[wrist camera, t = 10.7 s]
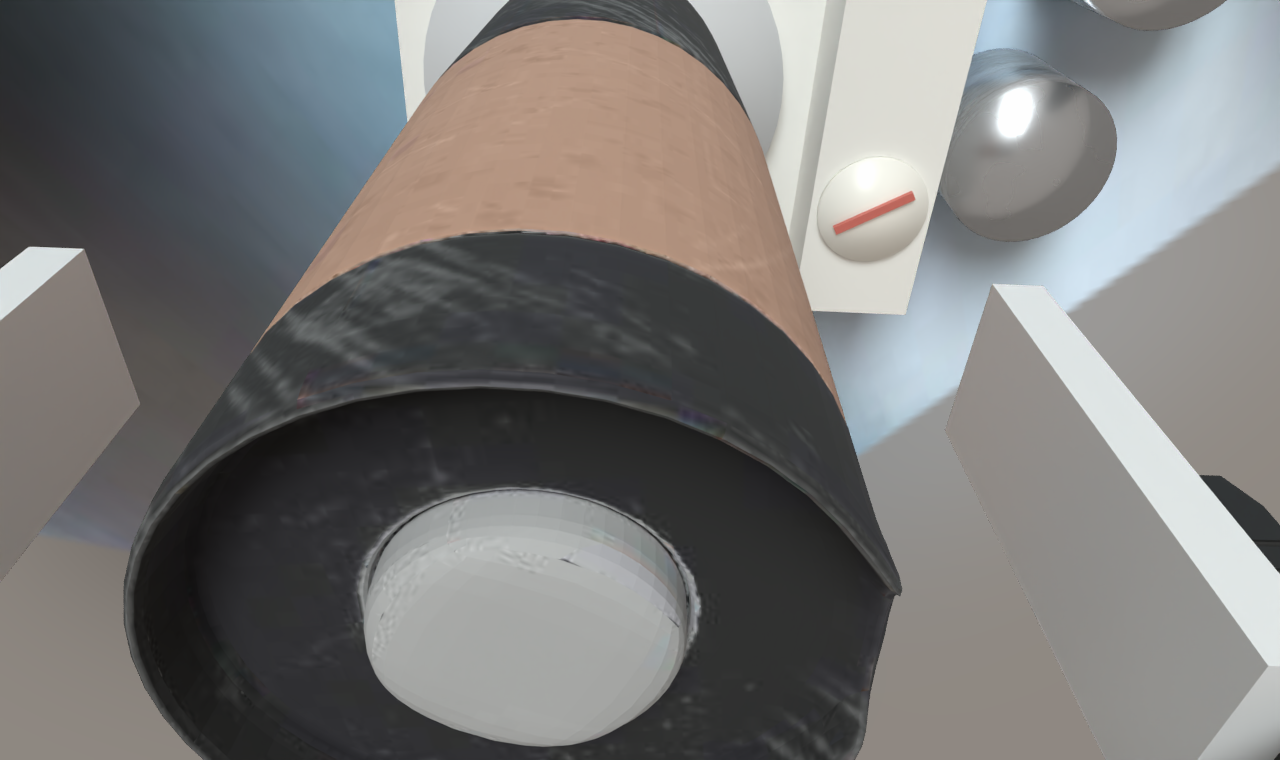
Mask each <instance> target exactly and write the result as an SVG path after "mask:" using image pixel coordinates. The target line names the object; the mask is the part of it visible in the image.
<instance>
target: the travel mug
mask: <svg viewBox="0 0 1280 760" xmlns="http://www.w3.org/2000/svg"><path fill="white" fill-rule="evenodd" d="M901 592H902V586H901V582H900V577H899V574H898V572H897V569H896V567H895V565H894V562H893V560H892V557H891V555H890V552H889V550H888V547H887V544H886V542H885V540H884V538H883V535H882V533H881V530H880V528H879V525H878V523H877V520H876V517H875V514H874V511H873V507H872V504H871V501H870V498H869V495H868V491H867V488H866V485H865V482H864V479H863V475H862V472H861V468H860V465H859V462H858V459H857V456H856V452H855V449H854V446H853V443H852V439H851V436H850V433H849V430H848V427H847V425H846V421H845V417H844V414H843V410H842V407H841V404H840V401H839V397H838V394H837V391H836V388H835V384H834V381H833V378H832V375H831V371H830V368H829V365H828V362H827V358H826V355H825V352H824V349H823V345H822V342H821V339H820V335H819V332H818V329H817V326H816V322H815V319H814V316H813V313H812V309H811V306H810V303H809V300H808V296H807V293H806V290H805V287H804V283H803V280H802V277H801V274H800V270H799V267H798V264H797V261H796V257H795V254H794V251H793V248H792V244H791V241H790V238H789V235H788V231H787V228H786V225H785V222H784V218H783V215H782V212H781V209H780V205H779V202H778V199H777V196H776V192H775V189H774V186H773V183H772V179H771V176H770V173H769V170H768V166H767V163H766V160H765V157H764V153H763V150H762V147H761V145H760V142H759V140H758V137H757V135H756V133H755V130H754V128H753V125H752V123H751V121H750V118H749V116H748V114H747V111H746V109H745V107H744V105H743V102H742V100H741V98H740V96H739V93H738V91H737V89H736V87H735V84H734V82H733V80H732V78H731V75H730V73H729V71H728V68H727V66H726V64H725V62H724V59H723V57H722V55H721V53H720V50H719V48H718V46H717V44H716V42H715V40H714V38H713V36H712V34H711V32H710V30H709V29H708V27H707V25H706V24H705V22H704V20H703V19H702V17H701V16H700V15H699V14H698V12H697V11H696V10H695V8H694V7H693V6H692V5H691V3H690V2H689V1H688V0H509V1H508V2H507V3H506V4H505V5H504V6H503V7H502V8H501V9H500V10H499V11H498V12H497V13H496V14H495V15H494V17H493V18H492V19H491V20H490V21H489V22H488V23H487V24H486V26H485V27H484V28H483V29H482V30H481V31H480V32H479V33H478V35H477V36H476V37H475V38H474V39H473V40H472V41H471V43H470V44H469V45H468V46H467V47H466V48H465V49H464V50H463V52H462V53H461V54H460V55H459V56H458V57H457V58H456V59H455V61H454V62H453V63H452V64H451V65H450V66H449V67H448V69H447V70H446V71H445V72H444V73H443V74H442V75H441V76H440V78H439V79H438V80H437V82H436V83H435V84H434V85H433V87H432V88H431V89H430V91H429V92H428V94H427V95H426V96H425V98H424V99H423V100H422V102H421V103H420V105H419V106H418V108H417V109H416V111H415V112H414V113H413V115H412V116H411V118H410V119H409V121H408V122H407V124H406V125H405V127H404V128H403V130H402V131H401V133H400V134H399V136H398V137H397V138H396V140H395V141H394V143H393V144H392V146H391V147H390V149H389V150H388V152H387V153H386V155H385V156H384V158H383V159H382V160H381V162H380V163H379V165H378V166H377V168H376V169H375V171H374V172H373V174H372V175H371V177H370V178H369V180H368V181H367V183H366V184H365V185H364V187H363V188H362V190H361V191H360V193H359V194H358V196H357V197H356V199H355V200H354V202H353V203H352V205H351V206H350V207H349V209H348V210H347V212H346V213H345V215H344V216H343V218H342V219H341V221H340V222H339V224H338V225H337V227H336V228H335V230H334V231H333V232H332V234H331V235H330V237H329V238H328V240H327V241H326V243H325V244H324V246H323V247H322V249H321V250H320V252H319V253H318V254H317V256H316V257H315V259H314V260H313V262H312V263H311V265H310V266H309V268H308V269H307V271H306V272H305V274H304V275H303V277H302V278H301V279H300V281H299V282H298V284H297V285H296V287H295V288H294V290H293V291H292V293H291V294H290V296H289V297H288V299H287V300H286V302H285V303H284V304H283V306H282V307H281V309H280V310H279V312H278V313H277V315H276V316H275V318H274V319H273V321H272V322H271V324H270V325H269V326H268V328H267V329H266V331H265V332H264V334H263V335H262V337H261V338H260V340H259V341H258V343H257V344H256V346H255V347H254V349H253V350H252V351H251V353H250V355H249V356H248V358H247V359H246V360H245V362H244V363H243V365H242V366H241V368H240V369H239V370H238V372H237V373H236V375H235V376H234V378H233V379H232V381H231V382H230V384H229V385H228V387H227V388H226V390H225V391H224V392H223V394H222V395H221V397H220V398H219V400H218V401H217V403H216V404H215V406H214V407H213V409H212V410H211V412H210V413H209V414H208V416H207V417H206V419H205V420H204V422H203V423H202V425H201V426H200V428H199V429H198V431H197V432H196V433H195V435H194V436H193V438H192V439H191V441H190V442H189V444H188V445H187V447H186V448H185V450H184V451H183V453H182V454H181V455H180V457H179V458H178V460H177V461H176V463H175V464H174V466H173V467H172V469H171V470H170V472H169V473H168V475H167V476H166V477H165V479H164V480H163V482H162V484H161V486H160V488H159V489H158V491H157V493H156V495H155V496H154V498H153V500H152V502H151V504H150V506H149V509H148V511H147V513H146V515H145V517H144V519H143V522H142V524H141V526H140V528H139V530H138V532H137V535H136V537H135V540H134V542H133V545H132V547H131V552H130V557H129V561H128V566H127V570H126V575H125V579H124V626H125V631H126V635H127V640H128V645H129V648H130V654H131V657H132V660H133V662H134V664H135V667H136V669H137V671H138V674H139V676H140V678H141V681H142V683H143V685H144V688H145V689H146V691H147V692H148V694H149V695H150V697H151V699H152V700H153V702H154V703H155V705H156V706H157V708H158V710H159V711H160V713H161V714H162V716H163V717H164V718H165V720H166V721H167V722H168V723H169V724H170V725H171V726H172V728H173V729H174V730H175V731H176V732H177V734H178V735H179V736H180V737H181V738H182V739H183V741H184V742H185V743H186V744H187V745H188V746H189V747H190V748H191V749H193V750H194V751H195V752H196V753H197V754H198V755H199V756H200V757H201V758H202V759H203V760H855V758H856V756H857V755H858V753H859V751H860V749H861V747H862V745H863V740H864V736H865V732H866V725H867V715H868V706H869V699H870V691H871V687H872V682H873V678H874V674H875V669H876V664H877V661H878V658H879V654H880V650H881V647H882V643H883V639H884V635H885V631H886V626H887V621H888V617H889V612H890V609H891V606H892V602H893V599H894V596H895V595H899V596H900V595H901Z"/></svg>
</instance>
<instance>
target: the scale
mask: <svg viewBox="0 0 1280 760" xmlns="http://www.w3.org/2000/svg"><path fill="white" fill-rule="evenodd" d="M508 1H509V0H395V8H396V18H397V27H398V37H399V46H400V55H401V65H402V74H403V83H404V93H405V102H406V111H407V121H409V119H410V118H411V116H412V115H413V113H414V112H415V111H416V109H417V108H418V106H419V105H420V103H421V102H422V100H423V99H424V98H425V96H426V95H427V94H428V92H429V91H430V89H431V88H432V87H433V85H434V84H435V83H436V82H437V80H438V79H439V78H440V76H441V75H442V74H443V73H444V72H445V71H446V70H447V69H448V67H449V66H450V65H451V64H452V63H453V62H454V61H455V59H456V58H457V57H458V56H459V55H460V54H461V53H462V52H463V50H464V49H465V48H466V47H467V46H468V45H469V44H470V43H471V41H472V40H473V39H474V38H475V37H476V36H477V35H478V33H479V32H480V31H481V30H482V29H483V28H484V27H485V26H486V24H487V23H488V22H489V21H490V20H491V19H492V18H493V17H494V15H495V14H496V13H497V12H498V11H499V10H500V9H501V8H502V7H503V6H504V5H505V4H506V3H507V2H508ZM688 1H689V2H690V3H691V5H692V6H693V7H694V8H695V10H696V11H697V12H698V14H699V15H700V16H701V17H702V19H703V20H704V22H705V24H706V25H707V27H708V29H709V30H710V32H711V34H712V36H713V38H714V40H715V42H716V44H717V46H718V48H719V50H720V53H721V55H722V57H723V59H724V62H725V64H726V66H727V68H728V71H729V73H730V75H731V78H732V80H733V82H734V84H735V87H736V89H737V91H738V93H739V96H740V98H741V100H742V102H743V105H744V107H745V109H746V111H747V114H748V116H749V118H750V121H751V123H752V125H753V128H754V130H755V133H756V135H757V137H758V140H759V142H760V145H761V147H762V150H763V153H764V157H765V160H766V163H767V166H768V170H769V173H770V176H771V179H772V183H773V186H774V189H775V192H776V196H777V199H778V202H779V205H780V209H781V212H782V215H783V218H784V222H785V225H786V228H787V231H788V235H789V238H790V241H791V244H792V248H793V251H794V254H795V257H796V261H797V264H798V267H799V270H800V274H801V277H802V280H803V283H804V287H805V290H806V293H807V296H808V300H809V303H810V306H811V309H812V311H828V312H851V313H874V314H897V315H905V314H906V310H907V307H908V303H909V299H910V295H911V291H912V287H913V283H914V280H915V276H916V272H917V268H918V264H919V260H920V256H921V253H922V249H923V245H924V241H925V237H926V233H927V229H928V226H929V222H930V218H931V214H932V210H933V206H934V203H935V199H936V195H937V191H938V187H939V183H940V179H941V176H942V172H943V168H944V164H945V160H946V156H947V152H948V149H949V145H950V141H951V137H952V133H953V129H954V125H955V122H956V118H957V114H958V110H959V106H960V102H961V98H962V95H963V91H964V87H965V83H966V79H967V75H968V71H969V68H970V64H971V60H972V56H973V52H974V48H975V45H976V41H977V37H978V33H979V29H980V25H981V21H982V18H983V14H984V10H985V6H986V2H987V0H688Z"/></svg>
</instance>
